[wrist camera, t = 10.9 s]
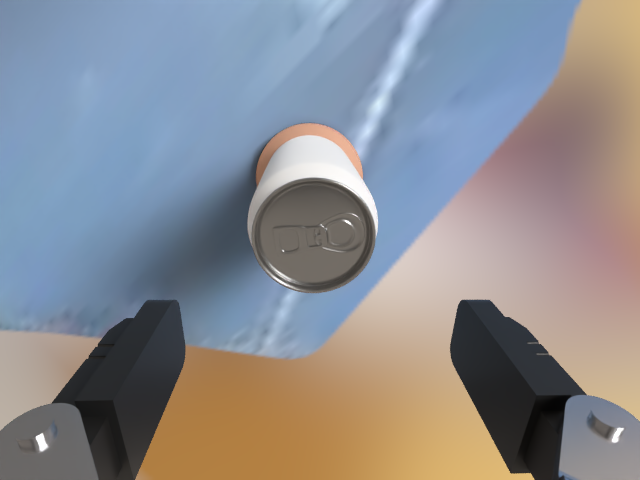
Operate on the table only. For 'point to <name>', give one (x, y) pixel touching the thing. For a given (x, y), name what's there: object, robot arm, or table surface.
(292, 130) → the peach round disc
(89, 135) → the table surface
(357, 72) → the table surface
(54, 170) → the table surface
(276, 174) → the can
